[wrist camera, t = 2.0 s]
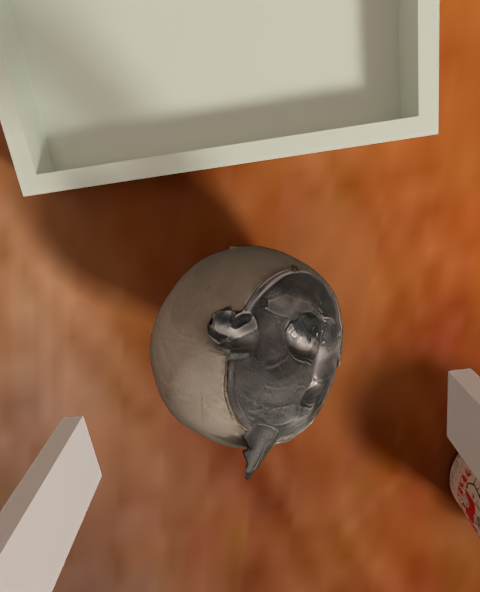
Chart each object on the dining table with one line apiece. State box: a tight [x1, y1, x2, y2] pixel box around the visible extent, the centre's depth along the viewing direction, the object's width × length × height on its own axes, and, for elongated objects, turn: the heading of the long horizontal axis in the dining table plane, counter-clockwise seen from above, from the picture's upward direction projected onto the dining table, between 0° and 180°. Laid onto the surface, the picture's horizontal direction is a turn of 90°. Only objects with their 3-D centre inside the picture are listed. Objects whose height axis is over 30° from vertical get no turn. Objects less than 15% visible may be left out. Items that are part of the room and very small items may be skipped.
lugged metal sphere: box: [150, 246, 343, 480], centre depth 23 cm, size 10×12×10 cm
